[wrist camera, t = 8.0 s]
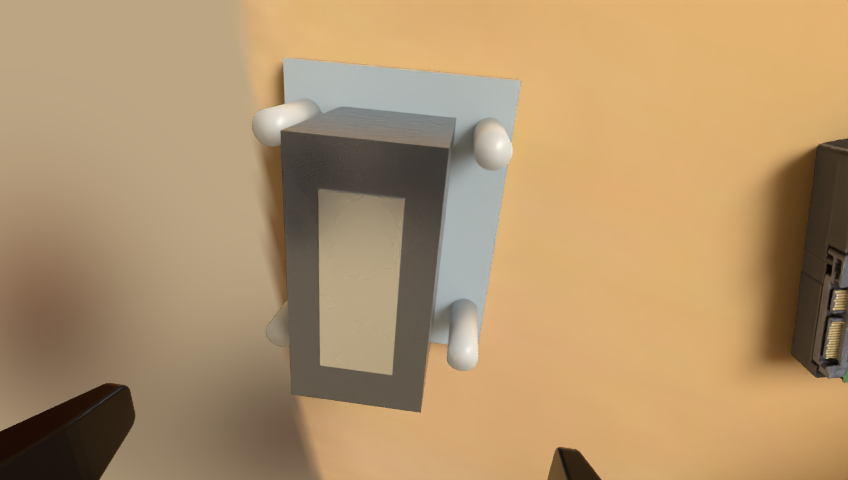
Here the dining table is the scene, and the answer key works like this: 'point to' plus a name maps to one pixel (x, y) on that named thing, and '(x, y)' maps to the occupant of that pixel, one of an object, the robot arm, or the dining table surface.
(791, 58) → the dining table surface
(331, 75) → the tray
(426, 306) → the block
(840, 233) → the disk drive
